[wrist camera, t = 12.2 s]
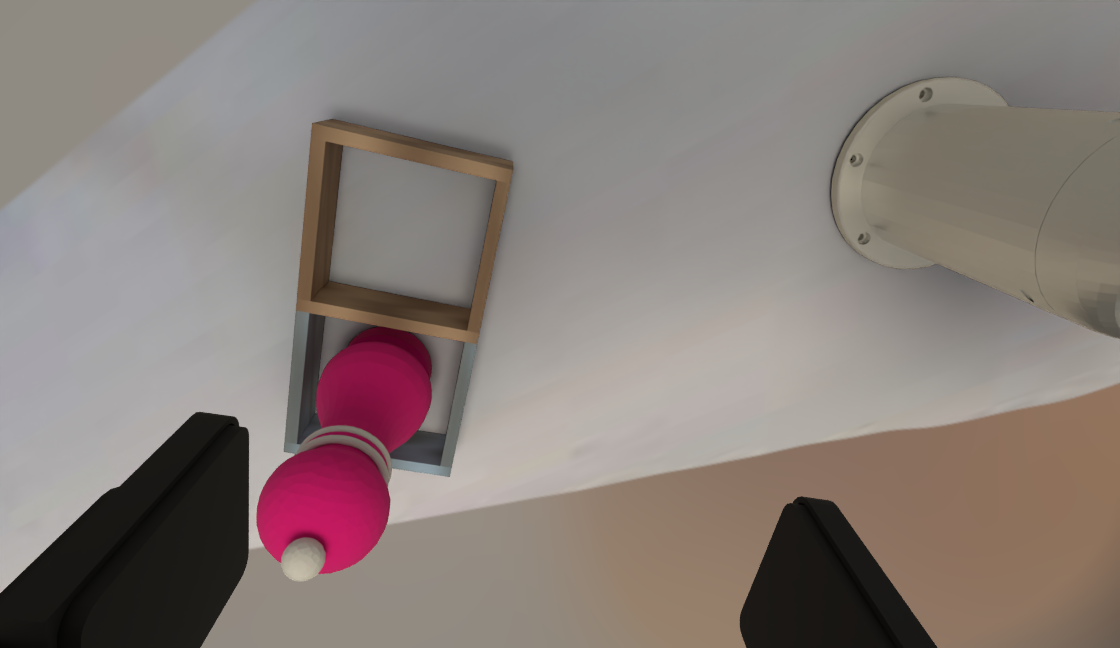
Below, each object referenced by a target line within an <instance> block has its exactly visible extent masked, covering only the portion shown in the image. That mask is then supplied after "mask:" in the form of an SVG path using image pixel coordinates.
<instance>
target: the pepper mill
mask: <svg viewBox="0 0 1120 648" xmlns="http://www.w3.org/2000/svg"><path fill="white" fill-rule="evenodd" d="M431 369H432V365H431V360H430V356H429V354H428V351H427V350H426V348H425V346H424V345H423V344H422V343H421V342H420V341H419V340H418V339H417V338H416V337H415V336H413V335H412V334H411V333H409V332H407V331H403V330H398V329H393V328H387V327H375V328H371V329H368V330H365V331H363V332H362V333H360V334H359V335H357V336H356V337H355V338H354V339H353V340H352V341H351V342H350V344H349V345H348V347H347V348H345V349H343V350H341V351H340V352H339V353H338V354H337V355H335V356H334V357H333V358H332V359H331V360H330V361H329V363H328V364H327V366H326V367H325V369H324V371H323V373H322V376H321V378H320V380H319V383H318V388H317V398H316V407H317V413H318V417H319V421H320V424H321V429H319V430H317V431H315V432H314V433H312V434H311V435H309V436H308V437H307V438H306V439H305V440H304V441H303V442H302V444H301V445H300V447H299V449H298V451H297V452H296V454H295V455H294V456H293V457H291V458H289V459H287V460H286V461H285V462H284V463H282V464H281V465H280V466H279V467H278V468H277V469H276V470H275V471H274V472H273V474H272V475H271V476H270V477H269V479H268V480H267V482H266V484H265V486H264V487H263V490H262V492H261V494H260V497H259V502H258V506H257V528H258V532H259V536H260V539H261V541H262V543H263V544H264V546H265V548H266V549H267V551H268V552H269V553H270V554H271V555H272V556H273V557H274V558H275V559H276V560H277V561H279V562H280V563H281V566H282V570H283V572H284V574H285V575H286V576H287V577H289V578H290V579H291V580H294V581H306V580H309V579H311V578H313V577H314V576H316V575H317V574H325V573H333V572H336V571H340V570H343V569H345V568H348V567H350V566H352V565H354V564H356V563H357V562H359V561H360V560H362V559H363V558H364V557H365V556H366V555H367V554H368V553H369V552H370V551H371V550H372V548H373V547H374V546H375V545H376V544H377V543H378V541H379V539H380V537H381V535H382V533H383V532H384V530H385V527H386V525H387V522H388V516H389V510H390V496H389V492H388V483H389V481H390V477H391V473H392V462H391V458H390V455H389V453H390V452H392V451H393V450H394V449H396V448H397V447H399V446H401V445H402V444H404V443H405V442H406V441H407V440H409V439H410V438H411V437H412V436H413V434H414V433H415V432H416V431H417V430H418V429H419V428H420V426H421V424H422V423H423V421H424V419H425V417H426V415H427V412H428V410H429V408H430V404H431V397H432V389H431V383H430V377H431Z"/></svg>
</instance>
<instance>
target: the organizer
mask: <svg viewBox="0 0 1120 648" xmlns="http://www.w3.org/2000/svg"><path fill="white" fill-rule="evenodd" d="M343 145H344V146H349V147H353V148H357V149H362V150H366V151H370V152H375V153H379V154H383V155H388V156H392V157H396V158H401V159H405V160H409V161H414V162H418V163H423V164H427V165H431V166H436V167H440V168H444V169H449V170H453V171H457V172H462V173H466V174H470V175H475V176H479V177H483V178H488V179H492V180H496V186H495V191H494V196H493V201H492V206H491V211H490V216H489V221H488V226H487V231H486V236H485V241H484V246H483V251H482V257H481V262H480V267H479V272H478V277H477V282H476V287H475V292H474V297H473V302H472V307H471V309H468V308H463V307H458V306H453V305H448V304H442V303H437V302H432V301H427V300H422V299H417V298H412V297H407V296H402V295H396V294H391V293H386V292H381V291H376V290H371V289H366V288H361V287H355V286H350V285H345V284H340V283H335V282H330V281H329V273H330V264H331V254H332V245H333V235H334V226H335V216H336V207H337V197H338V188H339V178H340V169H341V159H342V150H343ZM512 173H513V162H512V161H508V160H504V159H499V158H495V157H491V156H487V155H483V154H478V153H474V152H470V151H466V150H461V149H457V148H453V147H449V146H444V145H440V144H436V143H432V142H428V141H423V140H419V139H415V138H411V137H406V136H402V135H398V134H394V133H389V132H385V131H381V130H377V129H372V128H368V127H364V126H360V125H356V124H351V123H347V122H343V121H339V120H334V119H330V120H325V121H320V122H315V123H312V131H311V142H310V154H309V165H308V177H307V189H306V200H305V212H304V223H303V235H302V246H301V258H300V270H299V281H298V293H297V304H296V316H295V327H294V339H293V351H292V362H291V374H290V385H289V397H288V408H287V420H286V432H285V443H284V452H288V453H294V454H296V452H297V451H298V449H299V447H300V445H301V444H302V442H303V441H304V440H305V439H306V438H307V437H308V436H309V435H311V434H312V433H314V432H315V431H317V430H319V429H321V424H320V421H319V417H318V414H315V406H316V397H317V387H318V378H319V368H320V359H321V349H322V340H323V330H324V321H325V316H328V317H334V318H339V319H344V320H350V321H355V322H360V323H366V324H371V325H376V326H382V327H387V328H393V329H398V330H403V331H409V332H414V333H419V334H425V335H430V336H435V337H441V338H446V339H451V340H457V341H462V342H464V347H463V352H462V357H461V363H460V368H459V373H458V378H457V383H456V388H455V393H454V398H453V403H452V408H451V413H450V418H449V423H448V428H447V433H446V435H442V434H436V433H430V432H423V431H416V432H415V433H414V434H413V436H412V437H411V438H410V439H409V440H407V441H406V442H405V443H404V444H402V445H401V446H399V447H397V448H396V449H394V450H393V451H392V452H390V453H389V455H390V458H391V462H392V468H393V469H400V470H407V471H413V472H420V473H426V474H433V475H440V476H446V477H450V473H451V468H452V463H453V458H454V454H455V449H456V444H457V439H458V434H459V429H460V425H461V420H462V415H463V410H464V405H465V400H466V395H467V391H468V386H469V381H470V376H471V371H472V366H473V362H474V357H475V352H476V347H477V342H478V337H479V333H480V328H481V323H482V318H483V313H484V308H485V304H486V299H487V294H488V289H489V284H490V279H491V275H492V270H493V265H494V260H495V255H496V250H497V245H498V241H499V236H500V231H501V226H502V221H503V216H504V212H505V207H506V202H507V197H508V192H509V187H510V183H511V178H512Z"/></svg>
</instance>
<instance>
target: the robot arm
mask: <svg viewBox="0 0 1120 648" xmlns="http://www.w3.org/2000/svg"><path fill="white" fill-rule="evenodd" d="M919 94H920V96H919ZM851 157H853V158H852V160H851V161H850V158H851ZM831 200H832V209H833V215H834V218H835V221H836V224H837V227H838V229H839V230H840V232H841V234H842V235H843V237H844V239H845V240H846V242H847V243H848V244H849V245H850V246H851V247H852V248H853V249H854V250H855V251H856V252H858V253H859V254H861V255H863V256H864V257H866V258H867V259H869V260H871V261H874V262H876V263H878V264H880V265H883V266H887V267H892V268H896V269H916V268H922V267H929V266H932V265H935V264H939V265H941V266H944V267H946V268H948V269H950V270H953V271H955V272H957V273H960V274H962V275H964V276H967V277H969V278H971V279H974V280H976V281H978V282H981V283H983V284H985V285H988V286H990V287H992V288H995V289H997V290H999V291H1002V292H1004V293H1006V294H1009V295H1011V296H1013V297H1015V298H1018V299H1020V300H1022V301H1025V302H1027V303H1029V304H1032V305H1034V306H1036V307H1039V308H1041V309H1043V310H1046V311H1048V312H1050V313H1053V314H1055V315H1057V316H1060V317H1062V318H1064V319H1067V320H1069V321H1071V322H1074V323H1076V324H1078V325H1081V326H1083V327H1085V328H1088V329H1090V330H1093V331H1095V332H1098V333H1101V334H1104V335H1107V336H1110V337H1114V338H1119V339H1120V112H1101V111H1082V110H1062V109H1043V108H1024V107H1009V105H1008V104H1007V103H1006V102H1005V100H1004V99H1003V98H1002V97H1001V96H1000V95H999V94H998V93H996V92H995V91H994V90H992V89H991V88H990V87H988V86H986V85H983V84H981V83H979V82H977V81H974V80H969V79H963V78H957V77H943V78H933V79H927V80H921V81H918V82H915V83H912V84H910V85H907V86H904V87H902V88H900V89H898V90H897V91H895V92H893V93H892V94H890V95H888V96H886V97H885V98H884V99H882V100H881V101H880V102H879V103H877V104H876V105H875V106H874V107H873V108H871V109H870V110H869V111H868V112H867V113H866V115H865V116H864V117H863V118H862V119H861V120H860V121H859V122H858V124H857V125H856V126H855V128H854V129H853V131H852V132H851V134H850V135H849V137H848V138H847V140H846V141H845V143H844V146H843V148H842V150H841V152H840V155H839V157H838V159H837V162H836V166H835V170H834V174H833V178H832V190H831ZM859 236H860V237H859ZM858 237H859V238H858ZM248 552H249V432H248V429H247V428H245V427H239V422H238V420H237V418H235V417H233V416H225V415H218V414H211V413H204V412H196V413H195V414H194V415H192V416H191V417H190V418H189V419H188V420H187V421H186V422H185V423H184V424H183V425H182V426H181V427H180V428H179V429H178V430H177V431H176V432H175V433H174V434H173V435H172V436H171V437H170V438H169V439H168V440H167V441H166V442H165V443H164V444H162V445H161V446H160V447H159V448H158V449H157V450H156V451H155V452H154V453H153V454H152V455H151V456H150V457H149V458H148V459H147V460H146V461H145V462H144V463H143V464H142V465H141V466H140V467H139V468H138V469H137V470H136V471H135V472H134V473H133V474H132V475H131V476H130V477H129V478H128V479H127V480H126V481H125V482H124V483H123V484H122V485H121V486H120V487H116V488H113V489H110V490H109V491H108V492H106V493H105V494H104V495H102V496H101V497H100V498H99V499H98V500H97V501H96V502H95V503H94V504H93V505H92V506H91V507H90V508H89V509H88V510H87V511H85V512H84V513H83V514H82V515H81V516H80V517H79V518H78V519H77V520H76V521H75V522H74V523H73V524H72V525H71V526H70V527H69V528H68V529H67V530H66V531H65V532H64V533H63V534H62V535H61V536H59V537H58V538H57V539H56V540H55V541H54V542H53V543H52V544H51V545H50V546H49V547H48V548H47V549H46V550H45V551H44V552H43V553H42V554H41V555H40V556H39V557H38V558H37V559H36V560H35V561H33V562H32V563H31V564H30V565H29V566H28V567H27V568H26V569H25V570H24V571H23V572H22V573H21V574H20V575H19V576H18V577H17V578H16V579H15V580H14V581H13V582H12V583H11V584H10V585H8V586H7V587H6V588H5V589H4V590H3V591H2V592H1V593H0V648H200V647H201V646H202V644H203V642H204V640H205V639H206V637H207V635H208V633H209V632H210V630H211V628H212V627H213V625H214V623H215V622H216V620H217V618H218V616H219V615H220V613H221V612H222V610H223V608H224V606H225V605H226V603H227V601H228V600H229V598H230V596H231V595H232V593H233V591H234V589H235V588H236V586H237V584H238V583H239V581H240V579H241V577H242V575H243V573H244V571H245V568H246V564H247V560H248ZM740 630H741V634H742V637H743V640H744V642H745V645H746V648H937V646H936V645H935V643H934V642H933V641H932V639H931V638H930V636H929V635H928V634H927V632H926V631H925V629H924V628H923V627H922V625H921V624H920V622H919V621H918V619H917V618H916V617H915V615H914V614H913V612H911V610H910V608H909V607H908V605H907V604H906V603H905V601H904V600H903V599H902V597H901V596H900V594H899V593H898V591H897V590H896V589H895V587H894V586H893V584H892V583H891V581H890V580H889V579H888V577H887V576H886V574H885V573H884V572H883V570H882V569H881V567H880V566H879V565H878V563H877V562H876V560H875V559H874V558H873V556H872V555H871V553H870V552H869V551H868V549H867V548H866V546H865V545H864V544H863V542H862V541H861V539H860V538H859V537H858V535H857V534H856V532H855V531H854V529H853V528H852V527H851V525H850V524H849V522H848V521H847V520H846V518H845V517H844V515H843V514H842V513H841V511H840V510H839V508H838V507H837V506H836V505H835V504H834V503H833V502H831V501H829V500H822V499H815V498H808V497H798V498H797V499H795V500H794V502H793V503H790V504H787V505H786V506H785V507H784V509H783V511H782V513H781V516H780V518H779V521H778V523H777V525H776V528H775V530H774V533H773V535H772V538H771V540H770V542H769V545H768V547H767V550H766V552H765V555H764V557H763V560H762V562H761V564H760V567H759V570H758V572H757V574H756V577H755V579H754V582H753V584H752V586H751V589H750V592H749V594H748V596H747V599H746V601H745V604H744V606H743V609H742V611H741V615H740Z"/></svg>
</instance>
